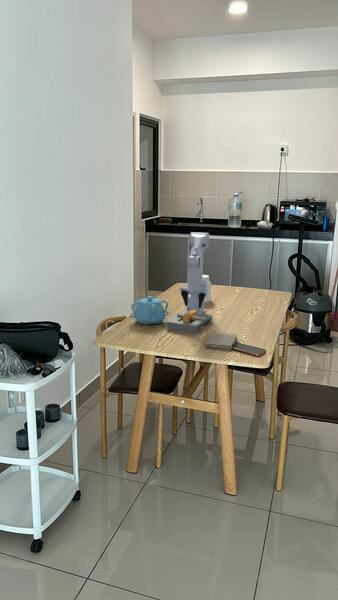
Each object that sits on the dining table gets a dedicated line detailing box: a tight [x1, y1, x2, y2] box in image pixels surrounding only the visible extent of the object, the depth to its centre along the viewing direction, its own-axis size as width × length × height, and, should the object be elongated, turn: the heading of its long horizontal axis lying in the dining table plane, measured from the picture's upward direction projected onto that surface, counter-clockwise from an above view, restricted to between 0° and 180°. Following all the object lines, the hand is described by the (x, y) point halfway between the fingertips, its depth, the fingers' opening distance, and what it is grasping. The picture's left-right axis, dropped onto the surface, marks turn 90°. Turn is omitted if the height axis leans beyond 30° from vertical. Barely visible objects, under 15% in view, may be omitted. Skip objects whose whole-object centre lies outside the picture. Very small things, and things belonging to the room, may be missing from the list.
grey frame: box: [166, 310, 213, 335], centre depth 240 cm, size 15×22×6 cm
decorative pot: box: [130, 295, 170, 326], centre depth 244 cm, size 20×20×14 cm
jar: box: [201, 274, 212, 303], centre depth 289 cm, size 12×10×15 cm
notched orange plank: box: [182, 309, 198, 323], centre depth 239 cm, size 12×3×5 cm, turn 154°
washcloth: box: [204, 332, 238, 352], centre depth 215 cm, size 12×18×3 cm, turn 164°
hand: (193, 306), depth 241 cm, fingers open, 7 cm apart
